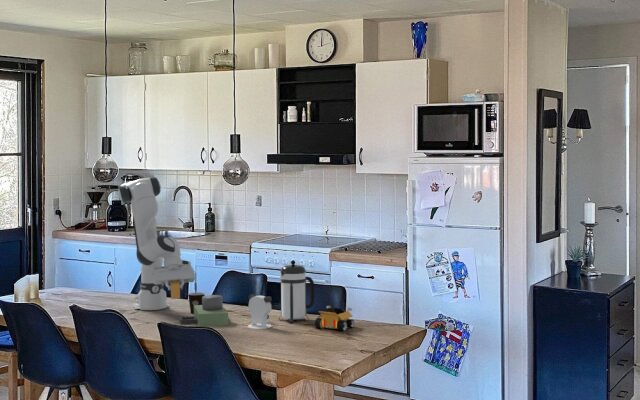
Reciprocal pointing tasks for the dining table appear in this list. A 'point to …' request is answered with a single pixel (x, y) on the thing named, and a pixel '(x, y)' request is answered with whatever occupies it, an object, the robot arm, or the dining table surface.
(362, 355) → the dining table surface
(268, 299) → the panda figurine
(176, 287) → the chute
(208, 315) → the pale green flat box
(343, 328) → the yellow toy truck
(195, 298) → the coffee mug
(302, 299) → the coffee press
